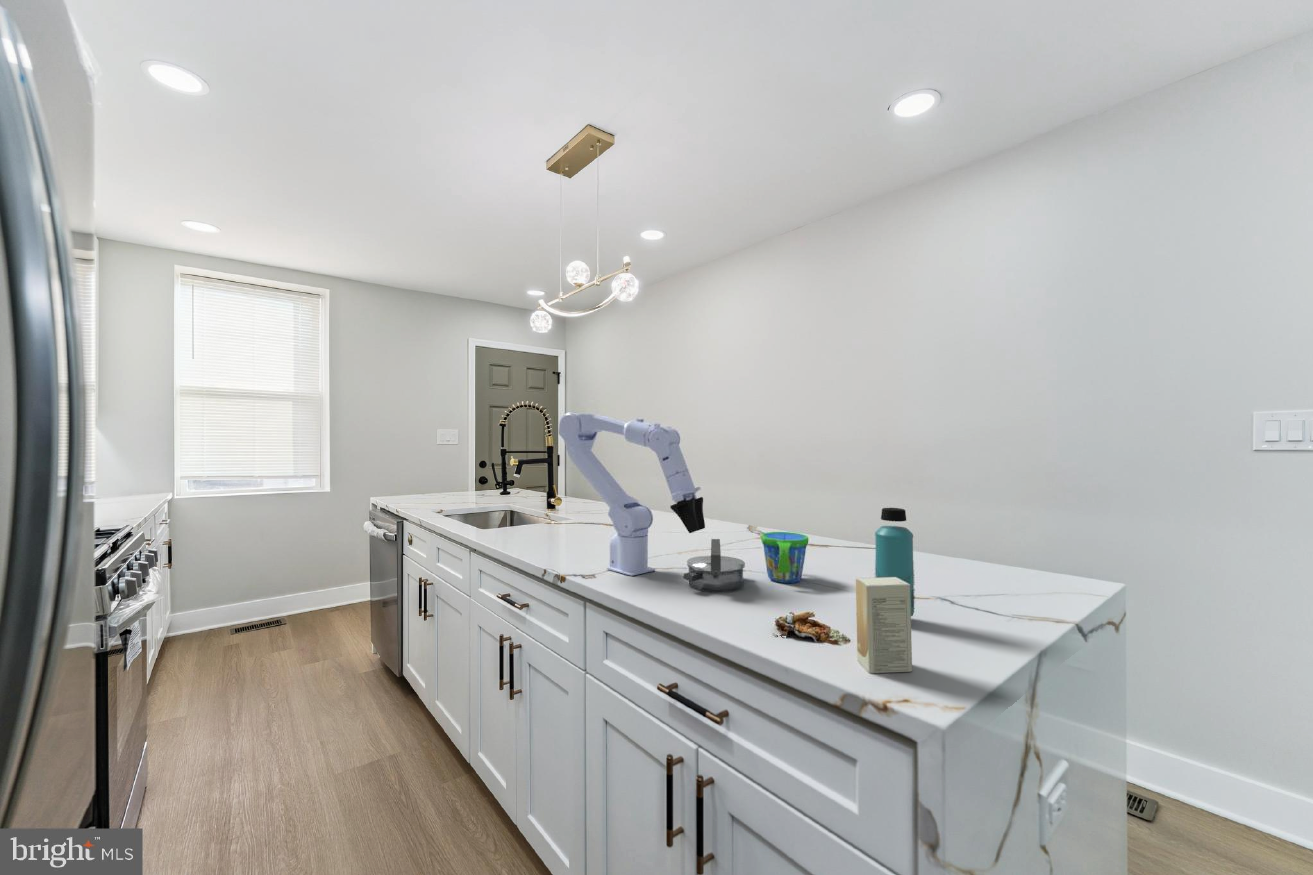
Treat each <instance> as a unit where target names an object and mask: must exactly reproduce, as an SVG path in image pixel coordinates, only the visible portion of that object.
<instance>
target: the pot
mask: <svg viewBox="0 0 1313 875" xmlns="http://www.w3.org/2000/svg"><path fill="white" fill-rule="evenodd" d="M745 563H746V562H745V561H744V568H745V567H746V566H745V565H746V564H745ZM744 568H743V569H741V570H738V571H733V572H705V571H699V570H694V569H691V568H689V567H688V572H684V573H683V580H685V581H688V587H690V588H692V589H693V590H696V591H700V592H706V593H730V592H732V593H733V592H737V591H739V590H741V589H743V588H744Z"/></svg>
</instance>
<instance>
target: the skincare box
mask: <svg viewBox="0 0 1313 875" xmlns="http://www.w3.org/2000/svg"><path fill="white" fill-rule="evenodd" d="M855 591H856V592H855V602H856V603H855V604H856V606H855V608H856V650H857V652H856V654H857V656H856V657H857V662H858V663H859V664H860V665H861V666H862V667H863V668H864V670H866V672H868V673H869V674H880V673H884V674H885V673H886V674H887V673H888V674H889V673H906V672H908V673H909V672H913V652H912V650H913V648H912V644H913V643H912V616H911V602H910V584H908V583H906V582H904V581H902V580H901V579H899V578H897V577H879V578H876V577H856V578H855Z"/></svg>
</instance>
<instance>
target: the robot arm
mask: <svg viewBox="0 0 1313 875" xmlns="http://www.w3.org/2000/svg"><path fill="white" fill-rule="evenodd" d="M558 426H559V427H558V435H559V436H560V437H561V438H562V439H563V442H564V446H565V447H566V451H567V454H568V457H569V459H570V460H571V462H572V463H573V464H574V465H575V467H576V468H577V469H578V470H579V472H581V474H582V475H583V476H584V478H585V479H586V480H587V481H588V483H589V484H590V485H591V487H592V488H593V489H594V490H595V491H596V492H597V494H598V495H599V496H600V497H601V499H602V500H603V501H604V502H605V504H606V505H607V506H608V508H609V509H608V510H609V511H608V513H607V515H608V518H610V520H611V522H612V525H613V528H614V530H615V532H616V533H615V534H613V536H612V537H611V538H610V542H609V566H607V567H606V570H609V571H612V572H616V573H620V574H623V575H627V576H629V577H630V576H631V577H632V576H636V575H640V574H647V573H650V572H655V571H656V568H653V567H650V566H648V565H649V563H648V561H649V560H648V559H649V553H648V552H649V549H648V548H649V546H648V545H649V536H648V535H649V529H650V527H651V526H652V524H653V521H654V516H653V513H652V510H651V508H650V507H648V506H646V505H644V504H642V503H640V501H639V500H638V499H636V498H634V497H633V496H631V495H629V494H628V493H627V492H626V491H625V490H624V489H623V488H622V486H621V485H620V484H619V483H618V482H617V480H616V479H615V478H614V476H612V474H611V473H610V472H609V471H608V470H607V468H606V467H605V466H604V465H603V463H602V462H601V461H600V460H599V458H598V457H596V455H595V454H594V452H592V449H593V447H594V444H595V440H596V438H597V435H598V433H602V432H603V431H604V432H608V433H613V434H617V435H621V436H624V439H625V440H626V442H627V443H630V444H631V443H632V444H635V445H638V446H642V447H645V448H649V449H650V450H651V451H653V452H654V453H655V454H656V457H657V459H658V461H659V464H660V467H661V469H662V472H663V475H664V477H665V480H666V485H667V486H668V489H669V492H670V495H671V500H672V501H674V504H672V505H670V506H669V507H670V509H671V510H672V511H673V512H674V513H675V515H677V517H679V519H680V520H681V522H682V524H683V526H684V527H685V529H686V531H687V532H688V533H689V534H692V533H695V532H697V531H701V530H704V529H705V528H706V523H705V516H704V505H703V504H704V498H703V496H700V497H697V495H696V494H697V492H698V491H701V490H702V489H701V486H698V487H695V484H694V481H693V480H692V476H691V474H690V470H689V468H688V465H687V463H686V460H685V457H684V455H683V452H682V450H681V447H680V443H681V436H680V433H679V432H678V430H676V429H675V428H672V427H671V426H666V427H662V426H661V424H660V423H657V422H655V423H649V422H646V421H644V418H640V417H639V418H638V417H637V418H636V419H630V420H629V421H628V422H625V421H623V420H618V419H616V418H613V417H610V416H606V415H602V414H591V413H574V412H566V413H564V414H563V415H562V416H561V418H560V420H559V424H558Z"/></svg>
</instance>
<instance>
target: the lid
mask: <svg viewBox="0 0 1313 875" xmlns="http://www.w3.org/2000/svg"><path fill="white" fill-rule="evenodd" d="M710 543H711V544H710V555H701V556H695V557H691V558H689V559H687V560H686V565H687V567H688V569H689V568H691V569H694V570H699V571H705V572H733V571H738V570H741V569H743V570H744V568H745V567H744V562H745V561H744V560H743V559H740V558H737V557H733V556H732V557H731V556H725V555H721V553H722V552H721V540H720V538H711V541H710Z"/></svg>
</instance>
